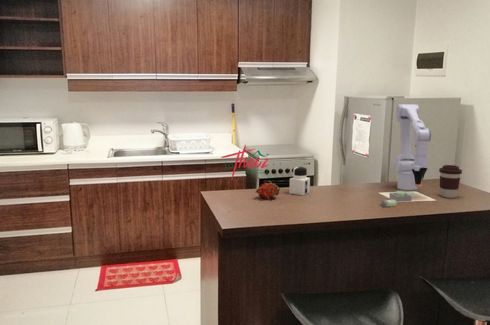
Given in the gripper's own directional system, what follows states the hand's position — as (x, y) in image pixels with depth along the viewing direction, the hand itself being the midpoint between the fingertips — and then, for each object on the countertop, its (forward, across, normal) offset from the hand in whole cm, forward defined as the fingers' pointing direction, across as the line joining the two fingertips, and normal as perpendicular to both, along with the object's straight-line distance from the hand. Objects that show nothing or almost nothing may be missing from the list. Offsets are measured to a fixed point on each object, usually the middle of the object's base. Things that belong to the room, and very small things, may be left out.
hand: (418, 183), depth 202 cm
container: (+8, +20, -52) cm, 56 cm away
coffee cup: (+8, -14, +11) cm, 20 cm away
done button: (+6, +8, -6) cm, 12 cm away
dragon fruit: (+8, +38, -60) cm, 72 cm away
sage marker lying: (+8, +22, -8) cm, 24 cm away
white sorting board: (+8, 0, -5) cm, 9 cm away
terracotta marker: (+2, 0, 0) cm, 2 cm away
